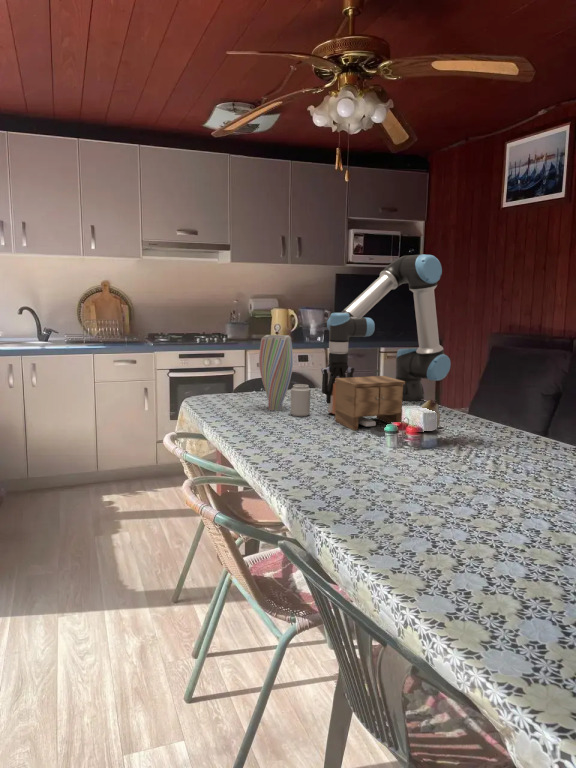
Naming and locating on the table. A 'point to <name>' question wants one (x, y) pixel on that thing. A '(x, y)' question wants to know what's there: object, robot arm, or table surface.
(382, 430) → the token
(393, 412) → the cabinet
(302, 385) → the grey jar
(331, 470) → the table surface
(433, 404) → the fruit
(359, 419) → the orange upright piece
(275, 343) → the vase
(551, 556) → the table surface
